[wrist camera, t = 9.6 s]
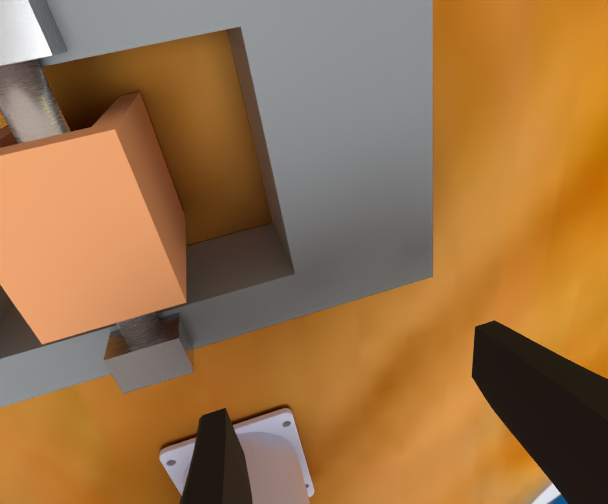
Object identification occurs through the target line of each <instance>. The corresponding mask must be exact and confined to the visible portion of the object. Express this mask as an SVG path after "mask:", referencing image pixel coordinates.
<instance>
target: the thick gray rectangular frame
mask: <svg viewBox="0 0 608 504" xmlns="http://www.w3.org/2000/svg"><path fill="white" fill-rule="evenodd" d="M226 29H227V32H228V36H229V41H230V45H231V49H232V53H233V58H234V62H235V66H236V70H237V75H238V79H239V83H240V87H241V92H242V96H243V100H244V104H245V109H246V113H247V117H248V121H249V126H250V130H251V134H252V138H253V143H254V147H255V151H256V155H257V160H258V164H259V168H260V172H261V177H262V181H263V185H264V189H265V194H266V198H267V202H268V206H269V211H270V215H271V219H272V223H271V224H267V225H263V226H259V227H256V228H252V229H248V230H245V231H241V232H237V233H233V234H230V235H226V236H222V237H218V238H215V239H211V240H207V241H204V242H200V243H196V244H192V245H189V246H186V303H183V304H179V305H176V306H172V307H169V308H165V309H162V310H159V311H155V312H152V313H148V314H145V315H141V316H138V317H135V318H131V319H128V320H124V321H121V322H117V323H114V324H111V325H107V326H104V327H100V328H97V329H93V330H90V331H86V332H83V333H80V334H76V335H73V336H69V337H66V338H62V339H59V340H56V341H52V342H49V343H45V344H42V343H41V342H40V341H39V339H38V338H37V336H36V335H35V333H34V332H33V331H32V329H31V328H30V326H29V325H28V323H27V322H26V321H25V319H24V318H23V316H22V315H21V313H20V312H19V311H18V309H17V308H16V306H15V305H14V303H13V302H12V301H11V299H10V298H9V296H8V295H7V293H6V292H5V291H4V289H3V288H2V286H1V285H0V408H1V407H4V406H7V405H10V404H14V403H17V402H20V401H24V400H27V399H30V398H34V397H37V396H40V395H44V394H47V393H50V392H53V391H57V390H60V389H63V388H67V387H70V386H73V385H77V384H80V383H83V382H86V381H90V380H93V379H96V378H100V377H103V376H106V375H110V374H112V376H113V377H114V379H115V381H116V382H117V384H118V386H119V387H120V389H121V391H122V392H123V394H124V393H128V392H131V391H134V390H137V389H141V388H144V387H147V386H150V385H153V384H157V383H160V382H163V381H166V380H170V379H173V378H176V377H179V376H182V375H186V374H189V373H192V372H194V354H193V349H195V348H199V347H202V346H205V345H209V344H212V343H215V342H219V341H222V340H225V339H228V338H232V337H235V336H238V335H242V334H245V333H248V332H252V331H255V330H258V329H261V328H265V327H268V326H271V325H275V324H278V323H281V322H285V321H288V320H291V319H295V318H298V317H301V316H304V315H308V314H311V313H314V312H318V311H321V310H324V309H328V308H331V307H334V306H337V305H341V304H344V303H347V302H351V301H354V300H357V299H361V298H364V297H367V296H370V295H374V294H377V293H380V292H384V291H387V290H390V289H394V288H397V287H400V286H403V285H407V284H410V283H413V282H417V281H420V280H423V279H427V278H430V277H433V13H432V0H0V111H1V113H2V115H3V116H4V118H5V120H6V122H7V124H8V126H9V127H10V129H11V131H12V133H13V135H14V137H15V138H16V140H17V142H18V144H20V143H24V142H28V141H33V140H37V139H41V138H46V137H50V136H55V135H59V134H63V133H68V132H71V131H70V129H69V127H68V125H67V122H66V120H65V118H64V116H63V114H62V112H61V110H60V107H59V105H58V103H57V101H56V99H55V97H54V95H53V92H52V90H51V88H50V86H49V84H48V82H47V80H46V77H45V75H44V73H43V71H42V69H41V67H43V66H48V65H53V64H58V63H63V62H67V61H72V60H77V59H82V58H87V57H92V56H97V55H102V54H107V53H112V52H117V51H122V50H127V49H132V48H137V47H142V46H147V45H152V44H157V43H162V42H167V41H171V40H176V39H181V38H186V37H191V36H196V35H201V34H206V33H211V32H216V31H221V30H226Z"/></svg>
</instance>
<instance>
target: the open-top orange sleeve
mask: <svg viewBox="0 0 608 504" xmlns="http://www.w3.org/2000/svg"><path fill="white" fill-rule="evenodd" d="M0 285H1V286H2V288H3V289H4V291H5V292H6V293H7V295H8V296H9V298H10V299H11V301H12V302H13V303H14V305H15V306H16V308H17V309H18V311H19V312H20V313H21V315H22V316H23V318H24V319H25V321H26V322H27V323H28V325H29V326H30V328H31V329H32V331H33V332H34V333H35V335H36V336H37V338H38V339H39V341H40V342H41V343H42V344H45V343H49V342H52V341H56V340H59V339H62V338H66V337H69V336H73V335H76V334H80V333H83V332H86V331H90V330H93V329H97V328H100V327H104V326H107V325H111V324H114V323H117V322H121V321H124V320H128V319H131V318H135V317H138V316H141V315H145V314H148V313H152V312H155V311H159V310H162V309H165V308H169V307H172V306H176V305H179V304H183V303H186V217H185V215H184V212H183V209H182V206H181V204H180V201H179V198H178V195H177V193H176V190H175V187H174V184H173V182H172V179H171V176H170V173H169V171H168V168H167V165H166V162H165V160H164V157H163V154H162V151H161V149H160V146H159V143H158V140H157V138H156V135H155V132H154V129H153V127H152V124H151V121H150V118H149V116H148V113H147V110H146V107H145V105H144V102H143V99H142V96H141V94H140V92H136V93H132V94H127V95H123V96H119V97H118V98H117V100H116V101H115V102H114V103H113V104H112V105H111V106H110V107H109V108H108V109H107V111H106V112H105V113H104V114H103V115H102V116H101V117H100V118H99V119H98V120H97V122H96V123H95V124H94V125H93V126H92V127H90V128H85V129H81V130H76V131H72V132H68V133H63V134H59V135H55V136H50V137H46V138H41V139H37V140H33V141H28V142H24V143H20V144H18V142H17V140H16V138H15V137H14V135H13V133H12V131H11V129H10V127H9V126H8V125H7V126H5V127H4V128H2V129H0Z"/></svg>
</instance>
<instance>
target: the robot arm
mask: <svg viewBox="0 0 608 504" xmlns="http://www.w3.org/2000/svg"><path fill="white" fill-rule="evenodd" d="M472 378H473V379H474V381H475V382H476V384H477V386H478V387H479V389H480V390H481V392H482V394H483V395H484V397H485V398H486V400H487V401H488V403H489V404H490V406H491V407H492V409H493V410H494V411H495V413H496V414H497V415H498V416H499V418H500V419H501V420H502V421H503V423H504V424H505V425H506V426H507V428H508V429H509V430H510V431H511V433H512V434H513V435H514V436H515V437H516V439H517V440H518V441H519V442H520V444H521V445H522V446H523V447H524V448H525V450H526V451H527V452H528V453H529V455H530V456H531V457H532V458H533V459H534V461H535V462H536V463H537V464H538V465H539V467H540V468H541V469H542V470H543V472H544V473H545V474H546V475H547V476H548V478H549V479H550V480H551V481H552V483H553V484H554V485H555V487H556V488H557V489H558V491H559V492H560V493H561V494H562V496H563V497H564V498H565V500H566V501H567V503H568V504H608V379H606V378H604V377H602V376H600V375H598V374H596V373H594V372H592V371H590V370H588V369H586V368H584V367H582V366H580V365H578V364H576V363H574V362H572V361H570V360H568V359H566V358H564V357H562V356H560V355H558V354H556V353H554V352H553V351H551V350H549V349H547V348H545V347H543V346H541V345H539V344H538V343H536V342H534V341H532V340H530V339H528V338H526V337H525V336H523V335H521V334H519V333H517V332H515V331H514V330H512V329H510V328H508V327H506V326H504V325H502V324H500V323H498V322H497V321H492V322H488V323H485V324H482V325H479V326H476V327H475V337H474V352H473V366H472ZM159 459H160V461H161V463H162V465H163V466H164V468H165V469H166V471H167V473H168V474H169V476H170V478H171V479H172V481H173V483H174V484H175V486H176V488H177V489H178V491H179V492H180V494H181V496H182V497H181V501H180V504H310V501H309V497H311V496H312V495H313V494H314V488H313V484H312V481H311V477H310V474H309V470H308V467H307V463H306V459H305V456H304V452H303V449H302V445H301V442H300V438H299V435H298V431H297V428H296V424H295V421H294V417H293V414H292V411H291V410H290V409H288V408H283V409H280V410H277V411H274V412H271V413H268V414H265V415H262V416H259V417H256V418H253V419H249V420H246V421H243V422H240V423H237V424H234V425H232V423H231V420H230V418H229V415H228V413H227V410H226V408H224V409H221V410H218V411H215V412H212V413H208V414H205V415H202V417H201V418H200V420H199V425H198V431H197V436H196V437H195V438H192V439H189V440H186V441H183V442H180V443H177V444H174V445H171V446H168V447H165V448H163V449H162V450H161V451H160V453H159Z"/></svg>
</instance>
